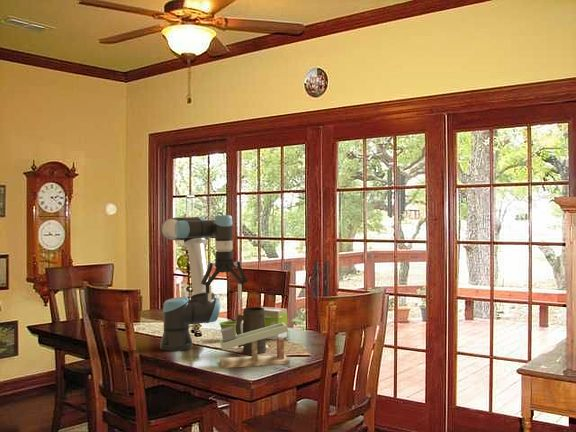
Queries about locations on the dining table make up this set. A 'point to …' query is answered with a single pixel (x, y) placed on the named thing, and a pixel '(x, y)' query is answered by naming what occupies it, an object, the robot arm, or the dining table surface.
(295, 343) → the dining table surface
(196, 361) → the dining table surface
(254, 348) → the beam stand
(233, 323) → the plant pot
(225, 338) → the block
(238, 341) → the beam
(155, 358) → the dining table surface
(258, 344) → the beer stein
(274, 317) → the tea box
